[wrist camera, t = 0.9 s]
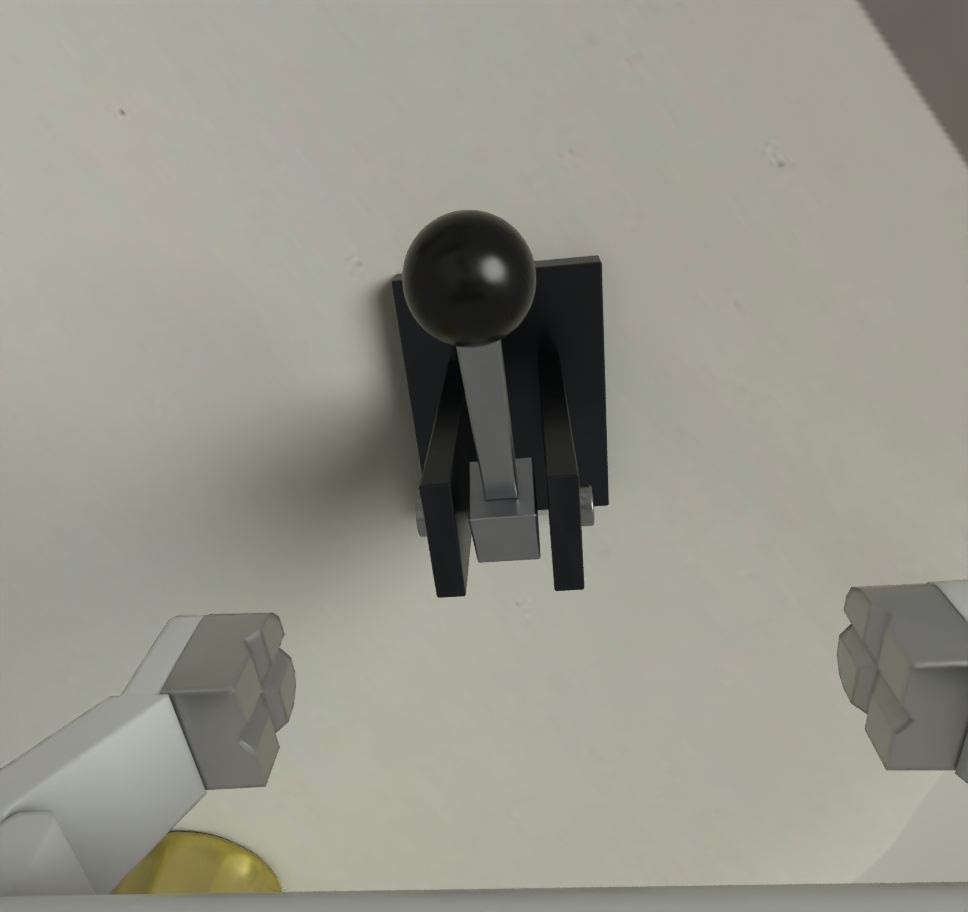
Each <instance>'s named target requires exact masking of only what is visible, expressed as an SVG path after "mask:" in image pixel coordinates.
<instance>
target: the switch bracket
mask: <svg viewBox="0 0 968 912" xmlns="http://www.w3.org/2000/svg"><path fill="white" fill-rule="evenodd" d="M534 263H535V269H536V290H535V295H534V299H533V302H532V305H531V307H530V309H529V311H528V313H527V315H526V317H525V318H524V319H523V321H522V322H521V323H520V325H519V326H518V327H517V328H516V329H515V330H514V331H513V332H511V333H510V334H509V335H508V336H506V337H505V338H503V339H501V345H502V353H503V361H504V369H505V378H506V386H507V394H508V402H509V410H510V419H511V427H512V435H513V443H514V451H515V459H517V458H533V464H534V475H535V486H536V497H537V510H545V509H548V511H549V524H550V537H551V551H552V564H553V577H554V589H555V591H565V590H582V589H584V570H583V550H582V530H581V526H592V525H594V506H605V505H608V504H609V496H608V462H607V428H606V393H605V359H604V325H603V290H602V263H601V260H600V258H599V256H587V257H576V258H566V259H555V260H544V261H534ZM392 287H393V293H394V299H395V306H396V312H397V318H398V325H399V331H400V337H401V343H402V350H403V356H404V362H405V369H406V375H407V381H408V388H409V394H410V400H411V407H412V413H413V419H414V425H415V432H416V438H417V444H418V451H419V457H420V463H421V470H422V478H421V482H420V486H419V489H420V495H421V496H420V497H418V498H417V502H416V522H417V529H418V532H419V535H420V536H421V537H426V536H427V538H428V545H429V551H430V557H431V563H432V569H433V576H434V582H435V588H436V594H437V597H439V598H441V597H458V596H465V595H466V587H467V576H468V566H469V555H470V545H471V535H472V533H471V528H470V524H469V462H476V461H478V459H477V454H476V449H475V443H474V438H473V433H472V427H471V422H470V417H469V411H468V406H467V401H466V395H465V390H464V385H463V380H462V374H461V369H460V364H459V358H458V353H457V348H456V346H453V345H450V344H447V343H444V342H442V341H440V340H438V339H436V338H435V337H433V336H431V335H430V334H429V333H428V332H427V331H425V330H424V329H423V328H422V327H421V326H420V325H419V323H418V322H417V321H416V319H415V318H414V317H413V315H412V313H411V311H410V309H409V307H408V305H407V302H406V299H405V296H404V291H403V284H402V274H397V275H396V276H395V277H394V279H393V281H392Z"/></svg>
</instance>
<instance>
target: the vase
mask: <svg viewBox="0 0 968 912" xmlns="http://www.w3.org/2000/svg"><path fill="white" fill-rule="evenodd" d="M246 892H282V891H281V887H280V884H279V882H278V880H277V878H276V876H275V874H274V873H273V871H272V870H271V869H270V868H269V866H268V865H267V864H266V863H265V862H264V861H263V860H262V859H260V858H259V857H258V856H257V855H255V854H254V853H252V852H251V851H249V850H247V849H245V848H243V847H241V846H239V845H237V844H235V843H233V842H230V841H228V840H226V839H223V838H220V837H217V836H213V835H208V834H203V833H196V832H168V834H167V835H166V836H165V837H164V838H163V839H162V840H161V841H160V842H159V843H158V844H157V845H156V846H155V847H154V848H153V849H152V850H151V851H150V852H149V853H148V854H147V855H146V856H145V857H144V858H143V859H142V860H141V861H140V862H139V863H138V864H137V866H136V867H135V868H134V869H133V870H132V871H131V872H130V873H129V874H128V875H127V876H126V877H125V878H124V879H123V880H122V881H121V882H120V883H119V884H118V885H117V886H116V887H115V888H114V889H113V890H112V891H111V892H110V893H109V894H108V895H113V894H180V893H246Z"/></svg>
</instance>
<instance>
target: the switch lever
mask: <svg viewBox="0 0 968 912" xmlns="http://www.w3.org/2000/svg"><path fill="white" fill-rule="evenodd" d="M402 284H403V291H404V296H405V299H406V302H407V305H408V307H409V309H410V311H411V313H412V315H413V317H414V318H415V319H416V321H417V322H418V323H419V325H420V326H421V327H422V328H423V329H424V330H425V331H427V332H428V333H429V334H430V335H431V336H433V337H435V338H436V339H438V340H440V341H442V342H444V343H447V344H450V345H453V346H456V348H457V353H458V358H459V364H460V369H461V374H462V380H463V385H464V390H465V395H466V401H467V406H468V411H469V417H470V422H471V427H472V433H473V438H474V443H475V449H476V454H477V459H478V461H476V462H469V524H470V528H471V533H472V537H473V542H474V546H475V550H476V555H477V559H478V562H480V563H482V562H498V561H514V560H530V559H540V541H539V525H538V510H537V497H536V486H535V475H534V464H533V458H517V459H515V451H514V443H513V435H512V427H511V419H510V410H509V402H508V394H507V386H506V378H505V369H504V361H503V353H502V345H501V339H503V338H505V337H506V336H508V335H509V334H510V333H511V332H513V331H514V330H515V329H516V328H517V327H518V326H519V325H520V323H521V322H522V321H523V319H524V318H525V317H526V315H527V313H528V311H529V309H530V307H531V305H532V302H533V299H534V295H535V290H536V269H535V263H534V259H533V256H532V253H531V251H530V249H529V247H528V245H527V243H526V242H525V240H524V239H523V237H522V236H521V235H520V233H519V232H518V231H517V230H516V229H515V228H514V227H513V226H511V225H510V224H509V223H508V222H506V221H505V220H503V219H501V218H500V217H498V216H495V215H493V214H490V213H487V212H483V211H478V210H461V211H455V212H451V213H447V214H445V215H443V216H440V217H438V218H437V219H435V220H433V221H432V222H431V223H429V224H428V225H427V226H425V227H424V228H423V229H422V230H421V231H420V232H419V234H418V235H417V236H416V238H415V239H414V240H413V242H412V244H411V246H410V248H409V250H408V252H407V255H406V258H405V261H404V266H403V272H402Z"/></svg>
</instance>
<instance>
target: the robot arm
mask: <svg viewBox="0 0 968 912" xmlns="http://www.w3.org/2000/svg"><path fill="white" fill-rule="evenodd" d="M844 612H845V614H846V615H847V617H848V619H849V620H850V622H851V624H850V625H849V626H848V627H847V628H846V629H845V630H844V631H843V632H842V633H841V634H840V635H839V641H838V649H837V660H838V669H839V675H840V679H841V682H842V685H843V688H844V690H845V692H846V694H847V696H848V698H849V700H850V702H851V704H853V705H854V706H856V707H857V708H859V709H860V710H862V711H863V712H865V713H866V714H868V715H867V720H866V725H865V731H866V733H867V735H868V737H869V739H870V740H871V742H872V744H873V746H874V748H875V750H876V752H877V754H878V755H879V757H880V759H881V761H882V763H883V765H884V767H885V769H886V770H956V772H955V774H956V775H958V776H959V777H960V778H961V779H963V780H964V781H965V782H966V783H968V580H952V581H937V582H927V583H926V584H924V583H921V584H901V585H882V586H862V587H851V588H850V590H849V592H848V594H847V595H846V600H845V605H844ZM284 635H285V634H284V631H283V628H282V624H281V621H280V618H279V616H277V615H275V614H274V613H242V614H209V615H179V616H175V617H174V618H172V619H170V620H169V621H168V622H167V623H166V625H165V626H164V628H163V629H162V631H161V633H160V634H159V636H158V637H157V639H156V640H155V642H154V644H153V645H152V647H151V648H150V650H149V651H148V653H147V655H146V656H145V658H144V659H143V661H142V662H141V664H140V666H139V667H138V669H137V670H136V672H135V673H134V675H133V677H132V678H131V680H130V681H129V683H128V684H127V686H126V688H125V689H124V691H123V692H122V694H121V695H120V696H110V697H108V698H107V699H105V700H104V701H102V702H101V703H99V704H98V705H96V706H95V707H93V708H92V709H90V710H89V711H87V712H86V713H84V714H83V715H81V716H80V717H78V718H77V719H75V720H74V721H72V722H71V723H69V724H68V725H66V726H65V727H63V728H62V729H60V730H59V731H57V732H56V733H54V734H53V735H51V736H50V737H48V738H47V739H45V740H44V741H42V742H41V743H39V744H38V745H36V746H35V747H33V748H32V749H30V750H29V751H27V752H26V753H24V754H23V755H21V756H20V757H18V758H17V759H15V760H14V761H12V762H11V763H9V764H8V765H6V766H5V767H3V768H2V769H0V912H968V882H921V883H920V882H918V883H917V882H916V883H849V884H781V885H714V886H646V887H579V888H512V889H445V890H379V891H312V892H246V893H180V894H113V895H108V894H109V893H110V892H111V891H112V890H113V889H114V888H115V887H116V886H117V885H118V884H119V883H120V882H121V881H122V880H123V879H124V878H125V877H126V876H127V875H128V874H129V873H130V872H131V871H132V870H133V869H134V868H135V867H136V866H137V864H138V863H139V862H140V861H141V860H142V859H143V858H144V857H145V856H146V855H147V854H148V853H149V852H150V851H151V850H152V849H153V848H154V847H155V846H156V845H157V844H158V843H159V842H160V841H161V840H162V839H163V838H164V837H165V836H166V835H167V834H168V832H169V831H170V830H171V829H172V828H173V827H174V826H175V825H176V824H177V823H178V822H179V821H180V820H181V819H182V818H183V817H184V816H185V815H186V814H187V813H188V812H189V811H190V810H191V809H192V808H193V807H194V806H195V805H196V804H197V803H198V802H199V801H200V799H201V798H202V797H203V796H204V795H205V794H206V790H214V789H232V788H250V787H266V784H267V781H268V778H269V776H270V773H271V770H272V767H273V764H274V762H275V759H276V756H277V753H278V750H279V748H280V747H279V743H278V740H277V737H276V732H277V731H279V730H280V729H281V728H282V727H283V726H284V725H286V724H287V723H288V722H289V719H290V716H291V712H292V709H293V706H294V698H295V689H296V681H295V670H294V667H293V663H292V659H291V657H290V656H289V655H288V654H286V653H285V652H284V651H283V650H282V649H281V648H279V647H280V645H281V642H282V640H283V637H284Z"/></svg>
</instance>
